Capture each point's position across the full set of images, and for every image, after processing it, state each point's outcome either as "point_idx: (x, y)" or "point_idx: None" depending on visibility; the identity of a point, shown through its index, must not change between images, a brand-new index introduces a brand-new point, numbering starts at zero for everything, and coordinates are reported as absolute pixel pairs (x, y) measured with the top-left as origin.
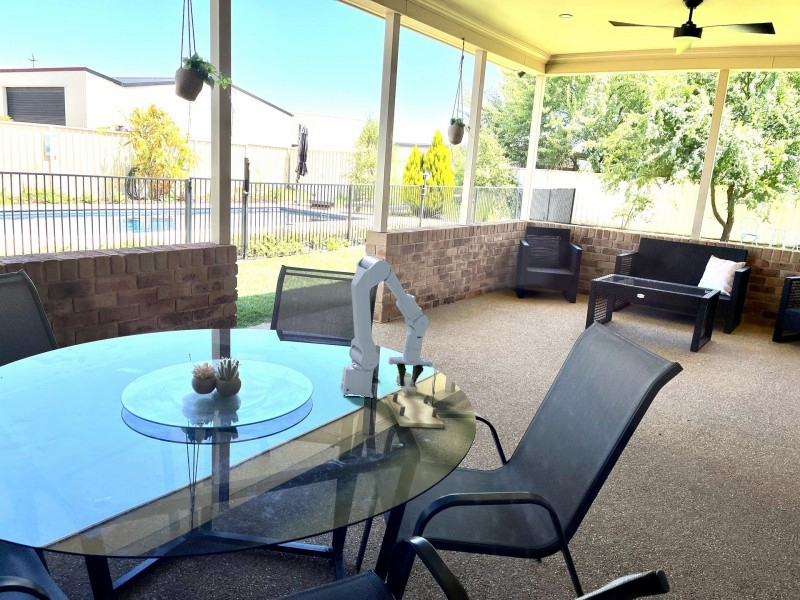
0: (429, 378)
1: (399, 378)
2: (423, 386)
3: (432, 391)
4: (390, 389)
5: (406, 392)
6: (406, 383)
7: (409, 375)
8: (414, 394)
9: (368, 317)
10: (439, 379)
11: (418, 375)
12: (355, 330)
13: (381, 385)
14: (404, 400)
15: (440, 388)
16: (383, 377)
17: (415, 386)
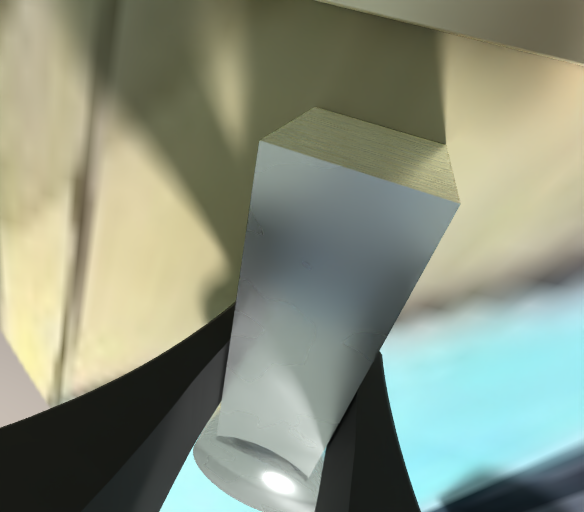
0: (87, 382)
1: (323, 452)
2: (143, 315)
3: (89, 220)
4: (489, 361)
5: (450, 166)
6: (373, 326)
7: (214, 448)
8: (323, 117)
9: None
10: (35, 355)
11: (110, 394)
12: None
13: (513, 442)
14: None
15: (28, 253)
16: None
17: (271, 186)
